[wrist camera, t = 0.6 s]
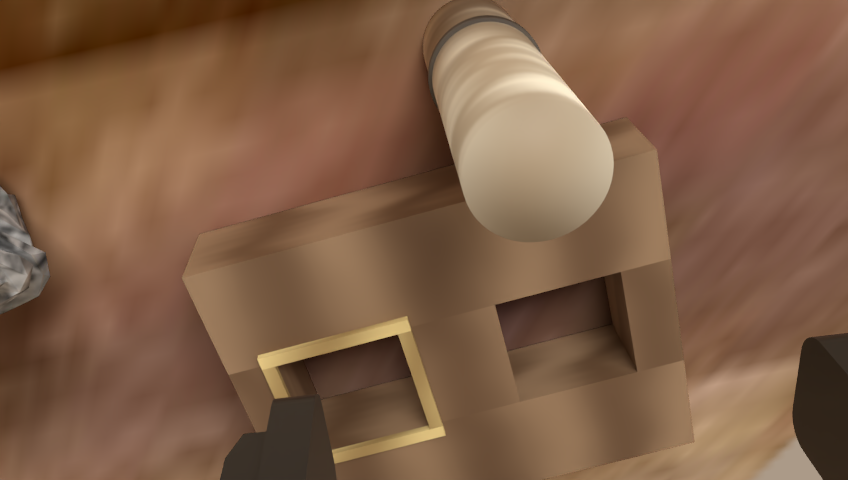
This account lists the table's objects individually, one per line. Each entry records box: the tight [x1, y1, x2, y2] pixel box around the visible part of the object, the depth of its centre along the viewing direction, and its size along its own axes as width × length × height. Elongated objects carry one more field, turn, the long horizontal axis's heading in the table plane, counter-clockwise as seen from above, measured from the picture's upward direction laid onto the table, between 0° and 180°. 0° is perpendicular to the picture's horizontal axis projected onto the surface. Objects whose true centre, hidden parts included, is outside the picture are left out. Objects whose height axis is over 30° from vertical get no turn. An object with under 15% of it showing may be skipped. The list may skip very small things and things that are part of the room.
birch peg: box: [422, 0, 614, 242], centre depth 27 cm, size 4×4×14 cm
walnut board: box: [182, 117, 694, 480], centre depth 37 cm, size 20×16×4 cm
